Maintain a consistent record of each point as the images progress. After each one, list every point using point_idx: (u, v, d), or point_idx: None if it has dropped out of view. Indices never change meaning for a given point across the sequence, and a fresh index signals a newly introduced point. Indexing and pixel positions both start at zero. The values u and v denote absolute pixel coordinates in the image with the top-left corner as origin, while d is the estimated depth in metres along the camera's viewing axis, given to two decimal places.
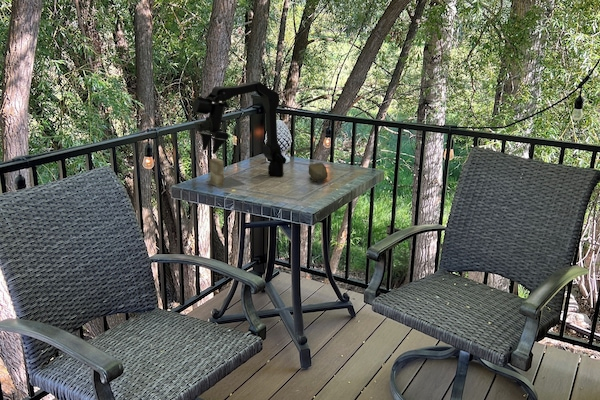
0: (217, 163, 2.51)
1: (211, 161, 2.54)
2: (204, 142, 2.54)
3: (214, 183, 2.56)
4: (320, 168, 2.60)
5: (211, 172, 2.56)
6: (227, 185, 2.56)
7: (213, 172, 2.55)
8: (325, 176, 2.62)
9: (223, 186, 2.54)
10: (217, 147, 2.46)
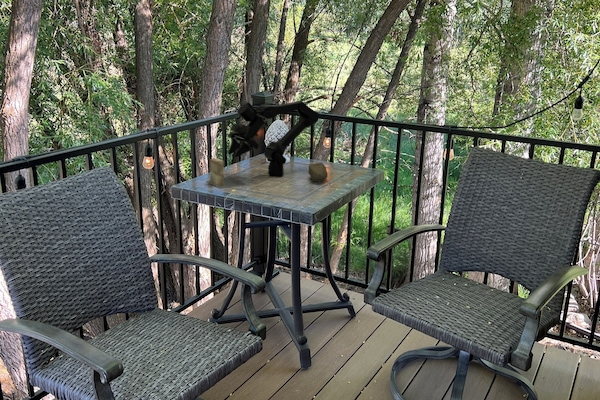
0: (217, 163, 2.51)
1: (211, 161, 2.54)
2: (232, 147, 2.61)
3: (214, 183, 2.56)
4: (320, 168, 2.60)
5: (211, 172, 2.56)
6: (227, 185, 2.56)
7: (213, 172, 2.55)
8: (325, 176, 2.62)
9: (223, 186, 2.54)
10: (241, 152, 2.56)
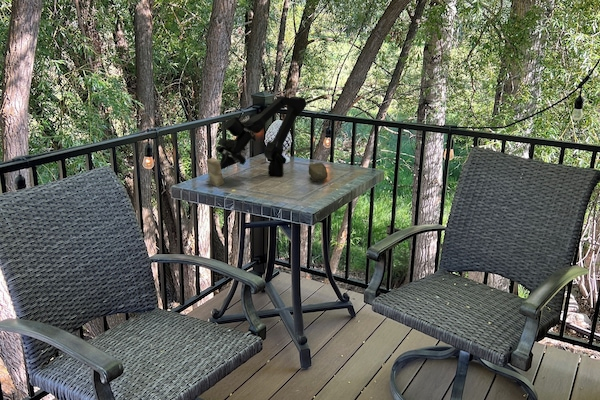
0: (213, 164, 2.50)
1: (207, 162, 2.54)
2: None
3: (214, 183, 2.56)
4: (320, 168, 2.60)
5: (210, 173, 2.56)
6: (227, 185, 2.56)
7: (211, 172, 2.54)
8: (325, 176, 2.62)
9: (223, 186, 2.54)
10: (225, 165, 2.56)
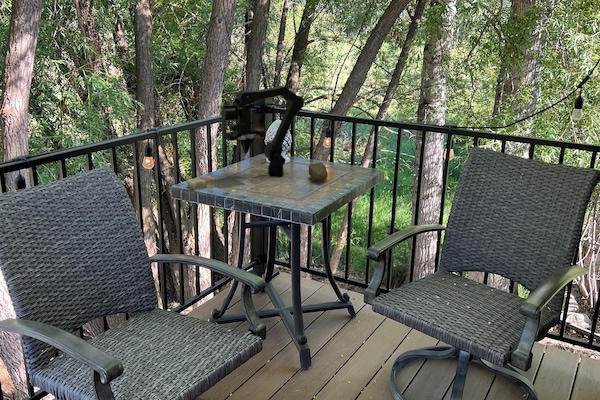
0: (195, 189, 2.48)
1: None
2: None
3: None
4: (320, 168, 2.60)
5: None
6: (227, 185, 2.56)
7: None
8: (325, 176, 2.62)
9: (223, 186, 2.54)
10: (243, 147, 2.62)
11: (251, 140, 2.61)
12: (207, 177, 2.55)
